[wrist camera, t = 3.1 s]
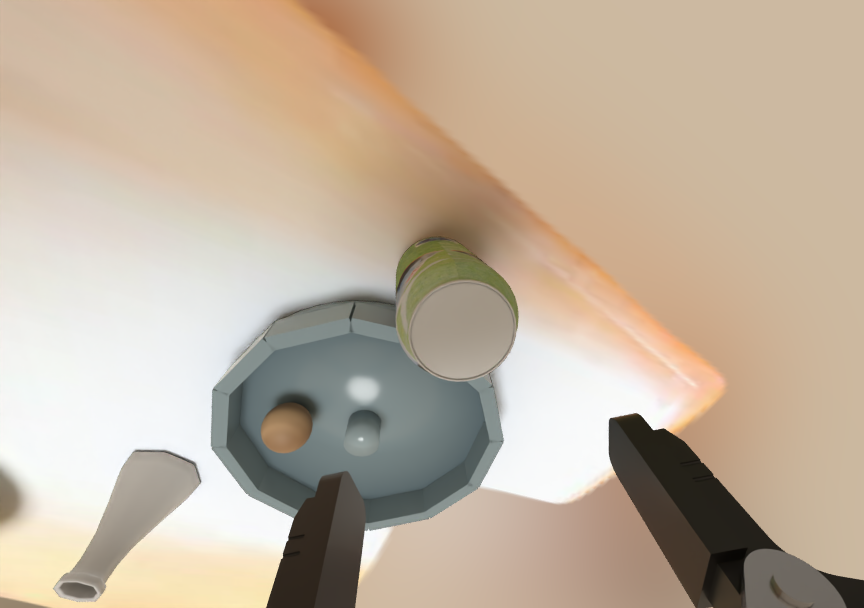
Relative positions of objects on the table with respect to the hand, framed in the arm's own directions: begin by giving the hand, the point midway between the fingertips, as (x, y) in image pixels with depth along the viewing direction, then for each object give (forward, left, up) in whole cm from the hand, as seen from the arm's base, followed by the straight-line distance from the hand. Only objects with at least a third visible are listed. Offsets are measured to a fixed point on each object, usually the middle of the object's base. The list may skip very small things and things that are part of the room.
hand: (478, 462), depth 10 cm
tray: (+13, -10, -18) cm, 24 cm away
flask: (+15, -32, -18) cm, 39 cm away
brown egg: (+10, -15, -17) cm, 25 cm away
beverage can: (0, 0, -18) cm, 18 cm away
